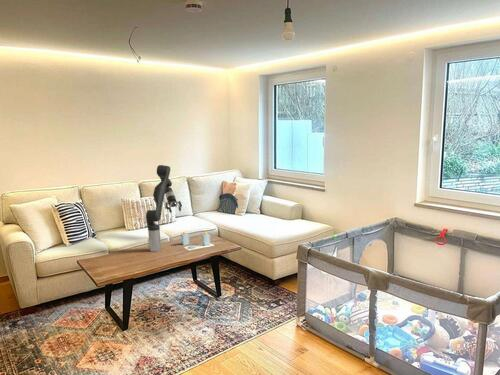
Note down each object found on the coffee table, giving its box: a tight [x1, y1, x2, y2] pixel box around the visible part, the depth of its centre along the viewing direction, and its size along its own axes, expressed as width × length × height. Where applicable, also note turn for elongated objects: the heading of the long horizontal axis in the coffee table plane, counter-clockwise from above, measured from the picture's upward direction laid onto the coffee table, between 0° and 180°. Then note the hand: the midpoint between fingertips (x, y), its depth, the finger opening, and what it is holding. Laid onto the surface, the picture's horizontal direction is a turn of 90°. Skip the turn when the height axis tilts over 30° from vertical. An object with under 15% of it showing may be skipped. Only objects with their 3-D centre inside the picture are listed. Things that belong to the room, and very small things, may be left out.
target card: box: [183, 242, 215, 251], centre depth 315 cm, size 23×12×1 cm, turn 120°
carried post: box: [180, 232, 190, 246], centre depth 324 cm, size 5×5×10 cm
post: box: [201, 232, 211, 246], centre depth 318 cm, size 5×5×10 cm
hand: (175, 211), depth 339 cm, fingers open, 8 cm apart
